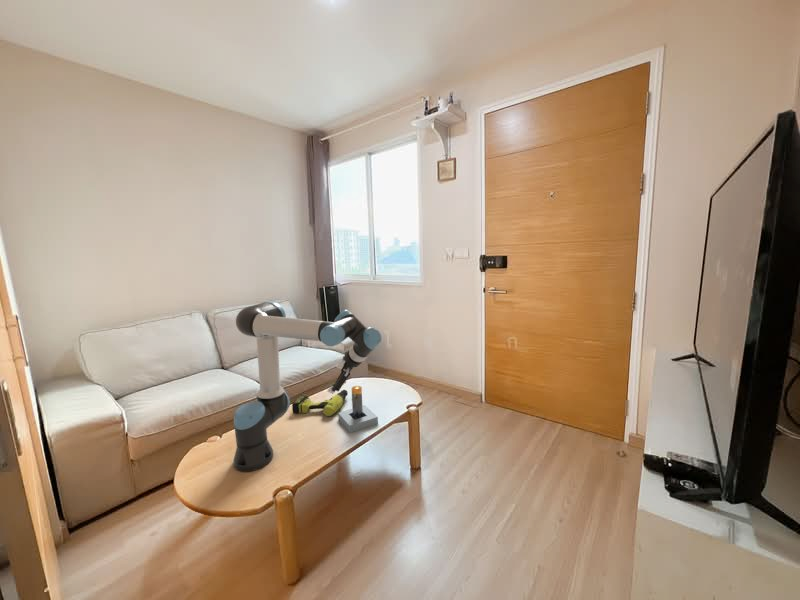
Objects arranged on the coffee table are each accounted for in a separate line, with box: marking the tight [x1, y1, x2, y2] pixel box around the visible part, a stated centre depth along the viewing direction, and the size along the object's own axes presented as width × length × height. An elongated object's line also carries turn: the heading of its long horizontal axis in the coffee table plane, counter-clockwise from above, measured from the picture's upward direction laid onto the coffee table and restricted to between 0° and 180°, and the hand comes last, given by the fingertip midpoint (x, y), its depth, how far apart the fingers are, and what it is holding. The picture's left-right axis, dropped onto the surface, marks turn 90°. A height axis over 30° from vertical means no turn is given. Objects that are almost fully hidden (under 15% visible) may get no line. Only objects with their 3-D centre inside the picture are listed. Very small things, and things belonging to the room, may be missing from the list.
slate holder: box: [338, 404, 379, 433], centre depth 166 cm, size 15×15×4 cm
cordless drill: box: [291, 389, 349, 417], centre depth 183 cm, size 7×25×25 cm
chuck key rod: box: [351, 385, 363, 420], centre depth 164 cm, size 5×5×18 cm
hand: (334, 379), depth 147 cm, fingers open, 13 cm apart
